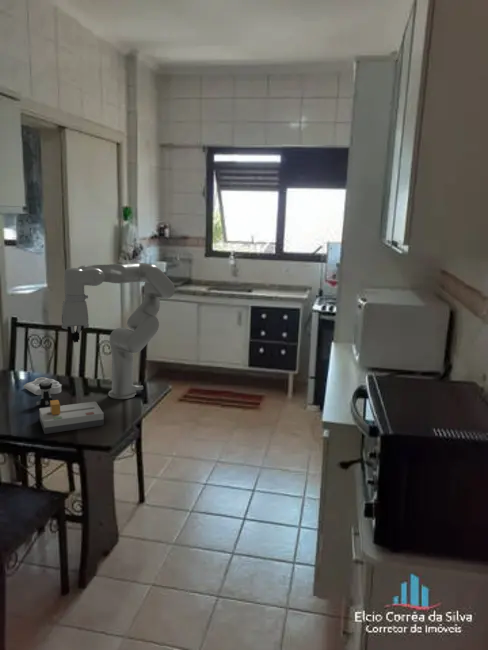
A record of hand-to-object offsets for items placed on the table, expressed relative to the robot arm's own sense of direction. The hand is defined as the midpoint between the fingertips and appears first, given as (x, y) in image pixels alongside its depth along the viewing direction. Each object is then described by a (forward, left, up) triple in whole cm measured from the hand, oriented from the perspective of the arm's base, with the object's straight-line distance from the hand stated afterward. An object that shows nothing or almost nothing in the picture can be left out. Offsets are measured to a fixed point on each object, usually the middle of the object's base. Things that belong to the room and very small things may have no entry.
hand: (75, 341), depth 210 cm
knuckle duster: (+9, -28, -30) cm, 42 cm away
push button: (+12, -8, -29) cm, 33 cm away
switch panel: (+5, +15, -29) cm, 33 cm away
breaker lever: (+11, +16, -26) cm, 33 cm away
